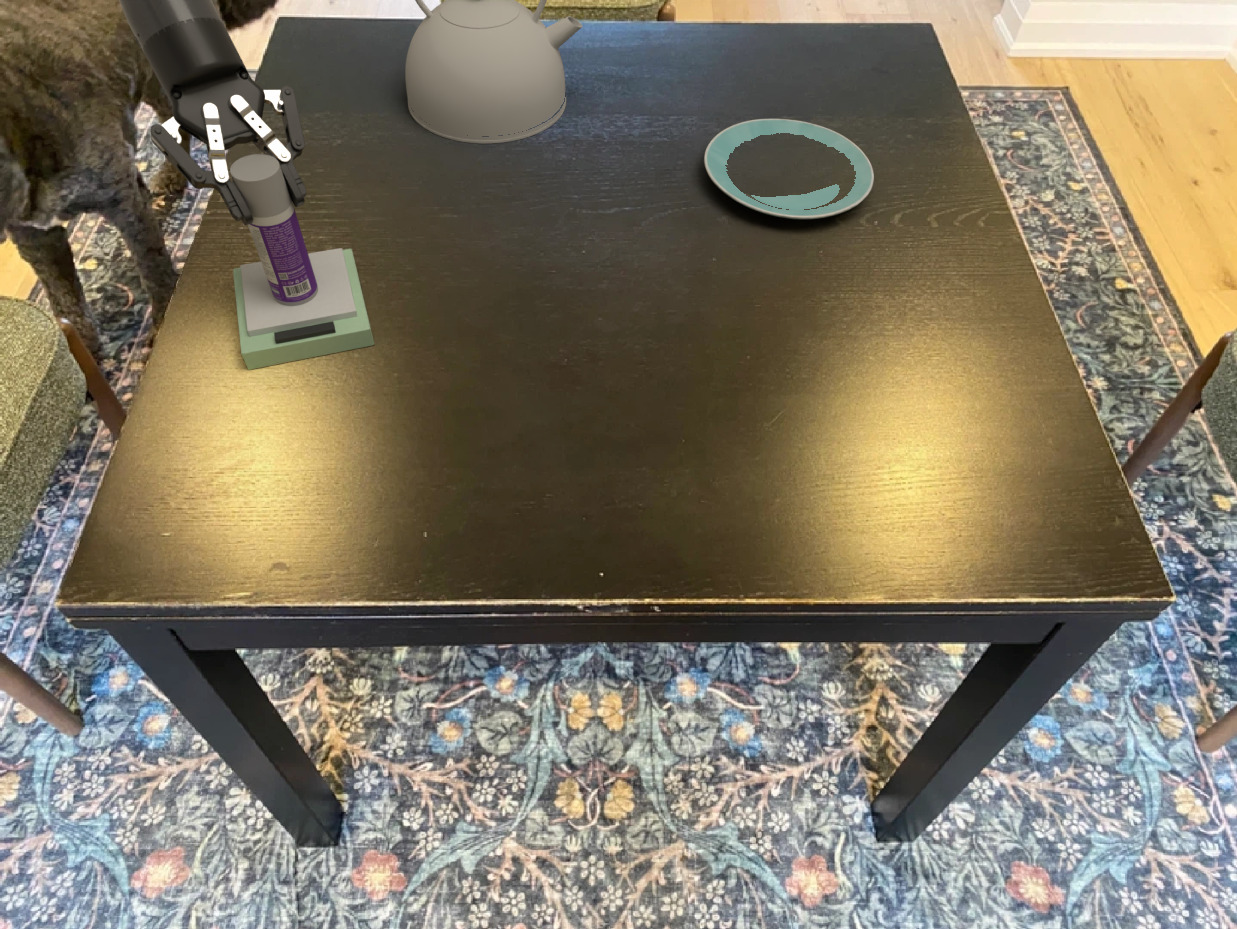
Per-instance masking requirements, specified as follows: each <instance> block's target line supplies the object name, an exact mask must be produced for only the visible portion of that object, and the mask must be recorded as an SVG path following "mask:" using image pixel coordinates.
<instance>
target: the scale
mask: <svg viewBox="0 0 1237 929" xmlns="http://www.w3.org/2000/svg"><path fill="white" fill-rule="evenodd" d="M308 255H309V259H310V262H311V265H312V269H313V272H314V275H315V279H316V282H317V286H318V292H317V294H316V296H315V297H314V298H313V299H312V300H310V301H309V302H307V303H304V304H301V305H297V306H287V305H283V304H281V303H279V302H277V301H276V300H275V298H274V296H273V294H272V291H271V288H270V285H269V283H268V280H267V277H266V274H265V272H264V269H263V266H262V263H261V261H257V262H250V263H244V264H240V265H239V266H240V267H235V268H232V275H233V285H234V294H235V295H234V296H235V306H236V315H237V326H238V332H239V334H238V336H239V345H240V346H239V347H240V354H241V356H242V359H243V362H244V364H245V366H246V367H247V370H248V371H251V370H255V369H256V370H257V369H261V368H266V367H271V366H276V365H281V364H286V363H292V362H296V361H301V360H306V359H311V358H316V357H322V356H328V355H331V354H337V353H343V352H347V351H353V350H357V349H362V348H367V347H372V346H375V341H374V336H373V332H372V328H371V323H370V319H369V315H368V311H367V306H366V303H365V298H364V294H363V289H362V286H361V281H360V277H359V274H358V268H357V265H356V261H355V256H354V253H353V249H352V248H345V249H343V247H339V248H338V247H337V248H333V249H332V248H331V249H327V250H321V251H314V252H310V253H309V252H308Z"/></svg>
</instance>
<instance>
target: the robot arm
mask: <svg viewBox="0 0 1237 929" xmlns="http://www.w3.org/2000/svg"><path fill="white" fill-rule="evenodd" d="M118 1H119V3H120V6H121V8H122V11H123V14H124V17H125V19H126V21H127V24H128V25H129V28H130V31H131V32H132V33H133V35H134V40H135V43H136V44H137V45H138V47H139V48H140V49H141V50H142V53H143V55H144V56H145V58H146V60H147V61H148V62H149V65H150V67H151V69H152V71H153V73H154V74H155V77H156V79H157V80H158V82H159V84H160V86H161V88H162V89H163V92H164V93H165V95H166V97H167V99H168V101H169V102H170V106H171V109H172V110H171V112H172V117H170V118H169V119H167V120H165V121H164V122H162V124H159V123H154V124H152V125H151V127H150V140H151V142H152V144H153V145H154V146H155V147H156V148H157V149H158V150H159V151H160V152H161V153H162V155H163V156H164V157H165V158H166V159H167V160H168V161H169V163H170V164H172V165H173V166H174V168H175V169H176V170H177V171H178V172H179V173H180V174H181V175H182V177H183V178H185V179H186V180H187V182H188V183H189V184H190V185H191V186H192V187H193V188H194V189H196V190H202V189H213V190H216V191H217V192H218V193H219V195H220V197H221V199H222V200H223V203H224V204H225V206H226V208H227V210H228V212H229V214H230V215H231V218H232V219H233V220H235V221H236V222H240V221H241V222H242V224H243V225H244V226H248V224H251V223H253V217H252V214H251V212H250V211H249V209H248V207H247V205H246V203H245V201H244V199H243V197H242V195H241V193H240V192H239V190H238V188H237V186H236V184H235V182H234V181H233V180H231V179H230V174H229V168H228V164H227V157H226V151H227V150H230V149H231V148H233V147H235V146H236V145H242V144H245V145H246V144H249V143H252V144H253V145H254V146H255V147H256V149H258V150H259V151H260V152H262V153H263V154H265V155H269V156H272V157H274V158H275V159H277V160H278V162H279V164H280V167H281V170H282V173H283V176H284V179H285V182H286V185H287V188H288V191H289V194H290V197H291V200H292V203H293V206H294V208H299V207H301V206H304V204H305V201H306V200H305V197H306V196H307V187H306V185H305V183H304V182H303V180H302V178H301V176H300V174H299V172H298V169H297V168H296V166H295V163H294V161H295V159H297V158H299V157H301V156H302V154H303V150H304V148H305V146H306V142H305V141H306V140H305V136H304V131H303V127H302V121H301V117H300V111H299V107H298V103H297V99H296V98H297V97H296V93H295V90H294V89H293V87H291V86H290V85H283V86H282V87H281V89H263V88H262V86H261V85H260V84H258V83H257V82H256V81H255V80H254V79H253V77H251V75H250V73H249V71H248V69H247V67H246V66H245V65H246V64H245V63H244V61H243V59H242V57H241V55H240V53H239V52H238V49H237V47H236V46H235V43H234V42H233V40H232V38H231V36H230V34H229V31H228V30H227V28H226V25H225V24H224V22H223V20H222V17H221V16H220V14H219V12H218V10H217V8H216V6H215V4H214V2H213V0H118ZM265 104H267V105H269V106H270V108H272V111H273V113H274V114H276V115H277V116H281V121H282V126H283V130H284V133H285V140H286V143H287V144H285V145H284V144H283V143H282V142H281V141H280V140H279V139H278V138H277V137H276V135H275V133H274V131H273V130H272V129H271V128H270V127H269V125H268V124H266V122H265V121H264V120H263V114H264V108H265ZM180 130H182V131H183V132H185V133H186V134H189V135H190V136H192V137H194V138H195V139H197V140H198V141H200V142H202V143H203V144H205V146H206V147H205V148H206V151H207V157H208V163H209V165H210V170H205V169H203V168H202V167H201V166H200V165H199V164H198V162H196V161H195V160H194V159H193V157H191V155H190V154H189V153H188V152H187V151H186V150H185V149H184V147H183V146H182V141H183V140H182V139H183V138H182V136H181V134H180Z"/></svg>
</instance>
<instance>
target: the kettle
mask: <svg viewBox="0 0 1237 929" xmlns="http://www.w3.org/2000/svg"><path fill="white" fill-rule="evenodd" d="M414 1H415V3H416V4H417V5H418V7H419V9H420V10H421V11H422V12H423V14H424V15H425V17H424V18H423V20H422V21H421V22H420V24H418V27H417V28H416V30H415V32H414V34H413V35H412V38H411V40H410V44H409V46H408V50H407V54H406V60H405V71H404V73H405V74H404V76H405V88H406V98H407V107H408V110H409V114H410V115H411V117H412V118H413V119H414V121H415V122H416V123H417V124H418V125H420V127H422V128H424V129H425V130H426V131H428V132H430V133H432V134H434V135H436V136H439V137H441V138H445V139H448V140H451V141H456V142H462V143H468V144H501V143H509V142H515V141H519V140H522V139H523V140H524V139H527V138H530V137H532V136H535V135H537V134H540V133H541V132H543V131H545V130H548V128H551V127H552V126H553V125H554V124H556V123H557V121H559V119H560V118H561V117H562V115H563V114H564V112H565V110H566V106H567V96H566V97H565V92H566V78H565V69H564V63H563V59H562V55H561V52H560V49H559V48H560V47H562V46H563V45H564V44H565V43H566V42H568V40H570V39H571V38H572V37H573V36H574V35H576V33H577V32H578V31H580V30H581V29H582V28H583V25H582V23H581V22H580V21H579V20H578V19H577V18H575V17H572V16H566V17H564V18H562V19H560V20H558V21H556V22H554V23H552V24H551V25H548V26H546V25H545V24H544V23H543V21H542V20H541V19H540V17H541V16H542V13H543V11H544V9H545V6H546V3H547V2H548V0H539V2H538V4H537V7H536V9H535V11H534V12H533V11H532V10H530V9H529V8H527V6H525V5H524V4H522V3H521V2H519V1H517V0H444V1H442V2H441V3H439V4H438V5H437V6H436V7H434V8H433V9H432V10H430V8H429V7H428V6H427V4H426V3H425V2H424V1H423V0H414ZM564 98H565V102H564ZM563 102H564V104H563ZM562 104H563V106H562V108H561V109H560V107H561V105H562ZM411 108H412V109H411ZM559 109H560V111H559V112H558V113H557V114H556V115H555V116H554V117H553V118H551V117H552V116H553V115H554V114H555V113H556V112H557V111H558V110H559ZM412 110H413V111H414V112H413V111H412ZM419 117H420V118H421V119H422V120H421V119H420V118H419ZM549 118H551V119H550V120H548V119H549ZM546 120H548V121H547V122H545V121H546ZM424 121H425V122H424ZM426 122H427V123H426ZM542 122H545V123H543V124H541V123H542ZM429 124H430V125H429ZM539 124H541V125H539ZM537 125H539V126H537ZM535 126H537V127H535ZM533 127H535V128H533ZM530 128H532V129H530ZM528 129H530V130H528ZM526 130H527V131H526ZM522 131H523V132H522ZM518 132H519V133H518ZM514 133H515V134H514ZM508 134H510V135H508ZM467 135H468V136H467ZM498 135H503V136H498ZM482 136H489V137H482Z"/></svg>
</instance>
